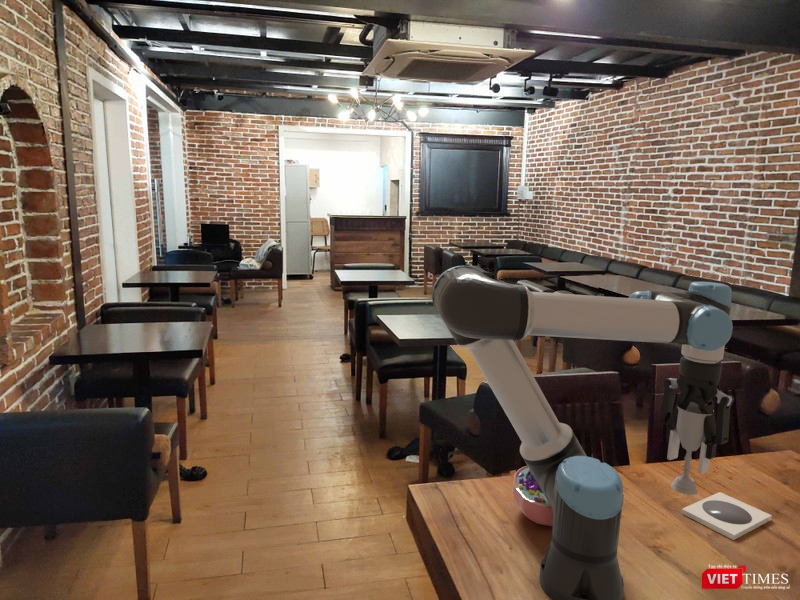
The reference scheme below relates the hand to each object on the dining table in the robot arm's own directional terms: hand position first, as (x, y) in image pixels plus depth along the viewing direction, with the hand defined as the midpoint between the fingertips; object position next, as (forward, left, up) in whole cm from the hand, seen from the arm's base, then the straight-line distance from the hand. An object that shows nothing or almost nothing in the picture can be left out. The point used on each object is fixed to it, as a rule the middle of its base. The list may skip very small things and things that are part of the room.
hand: (687, 464), depth 116 cm
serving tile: (+19, 0, -18) cm, 26 cm away
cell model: (-18, +21, -18) cm, 33 cm away
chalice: (0, 0, -6) cm, 6 cm away
